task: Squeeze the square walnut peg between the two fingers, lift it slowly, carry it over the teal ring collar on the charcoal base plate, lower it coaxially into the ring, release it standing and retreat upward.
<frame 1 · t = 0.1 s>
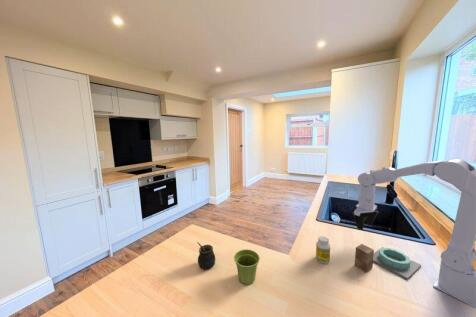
hand: (364, 226, 83), 10 cm above the counter, tool pointing down, fingers open, 7 cm apart
plant pot: (247, 278, 68), on the counter
supplement bottle: (322, 260, 77), on the counter
walnut peg: (363, 267, 72), on the counter
mate gourd: (206, 266, 74), on the counter
collar: (393, 262, 74), on the counter
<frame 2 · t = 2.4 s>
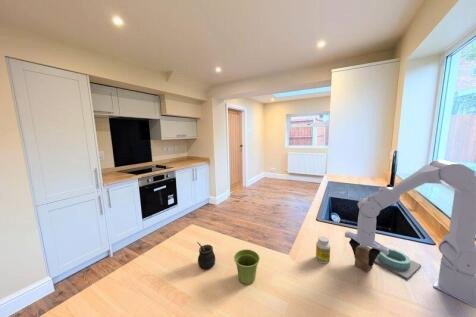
hand: (363, 261, 72), 2 cm above the counter, tool pointing down, fingers closed on walnut peg, 4 cm apart
walnut peg: (363, 266, 72), on the counter, touching gripper
everything else where it was.
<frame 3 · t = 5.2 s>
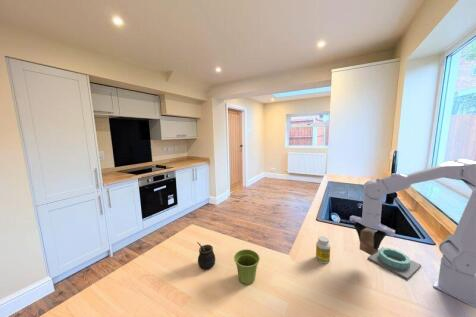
hand: (369, 244, 71), 9 cm above the counter, tool pointing down, fingers closed on walnut peg, 4 cm apart
walnut peg: (368, 250, 71), point 7 cm above the counter, touching gripper
everything else where it was.
when the fingers open (5 cm above the counter, at t = 8.1 s): walnut peg drops 1 cm, resting on collar.
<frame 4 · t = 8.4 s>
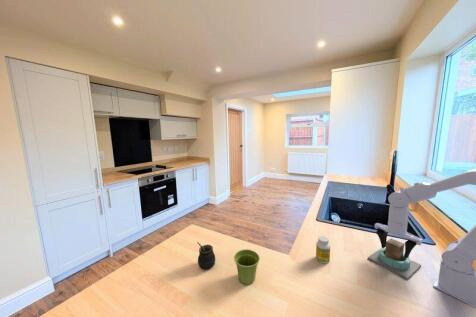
hand: (394, 252, 73), 5 cm above the counter, tool pointing down, fingers open, 7 cm apart
walnut peg: (393, 260, 74), point 1 cm above the counter, touching collar
everything else where it was.
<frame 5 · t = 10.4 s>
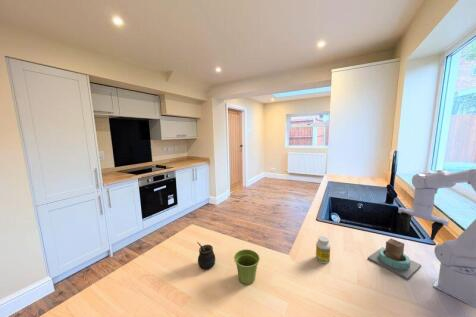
hand: (419, 234, 75), 10 cm above the counter, tool pointing down, fingers open, 7 cm apart
nothing on the counter moved.
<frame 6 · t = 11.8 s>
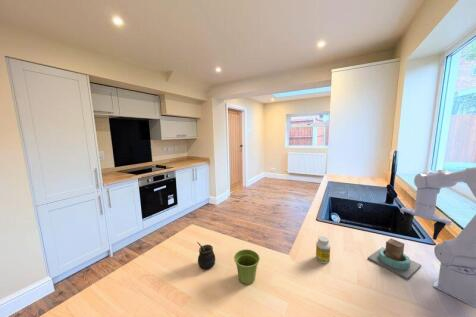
hand: (421, 234, 75), 10 cm above the counter, tool pointing down, fingers open, 7 cm apart
nothing on the counter moved.
at the end: walnut peg 0.1 cm off-centre on the collar, point 0.8 cm above the collar's base; walnut peg tilted 0°; the gripper is holding nothing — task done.
